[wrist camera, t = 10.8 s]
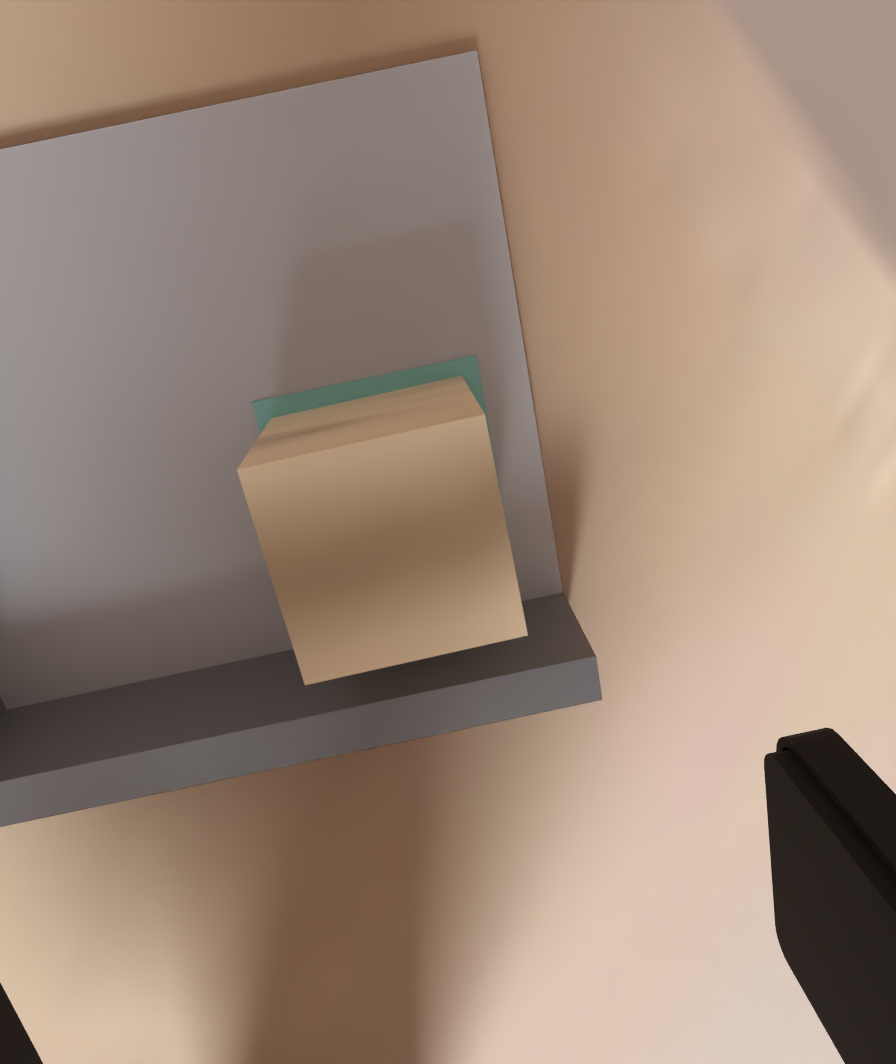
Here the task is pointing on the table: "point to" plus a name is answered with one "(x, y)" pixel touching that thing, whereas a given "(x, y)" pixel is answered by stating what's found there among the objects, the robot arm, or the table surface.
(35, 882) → the table surface
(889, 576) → the table surface
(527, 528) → the arena
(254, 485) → the birch block
